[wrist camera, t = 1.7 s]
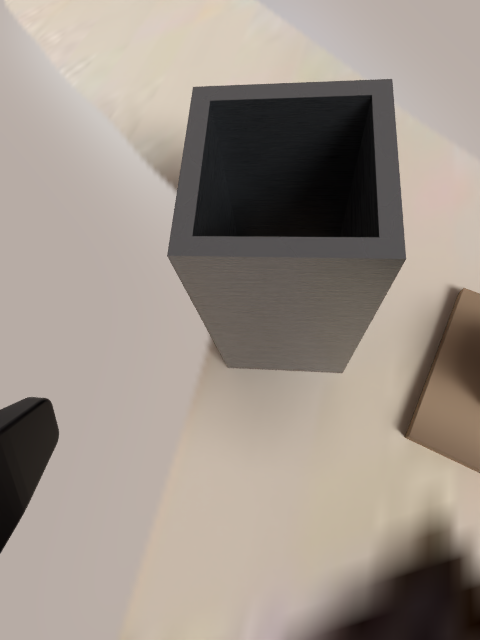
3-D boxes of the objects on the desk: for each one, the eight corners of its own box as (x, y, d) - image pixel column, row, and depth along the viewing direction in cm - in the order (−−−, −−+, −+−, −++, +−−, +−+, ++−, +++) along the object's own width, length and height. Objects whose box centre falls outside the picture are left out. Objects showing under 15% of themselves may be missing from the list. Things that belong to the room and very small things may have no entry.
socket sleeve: (342, 372, 21) (405, 258, 10) (227, 367, 22) (167, 255, 11) (341, 269, 23) (392, 78, 12) (236, 267, 24) (193, 87, 13)
